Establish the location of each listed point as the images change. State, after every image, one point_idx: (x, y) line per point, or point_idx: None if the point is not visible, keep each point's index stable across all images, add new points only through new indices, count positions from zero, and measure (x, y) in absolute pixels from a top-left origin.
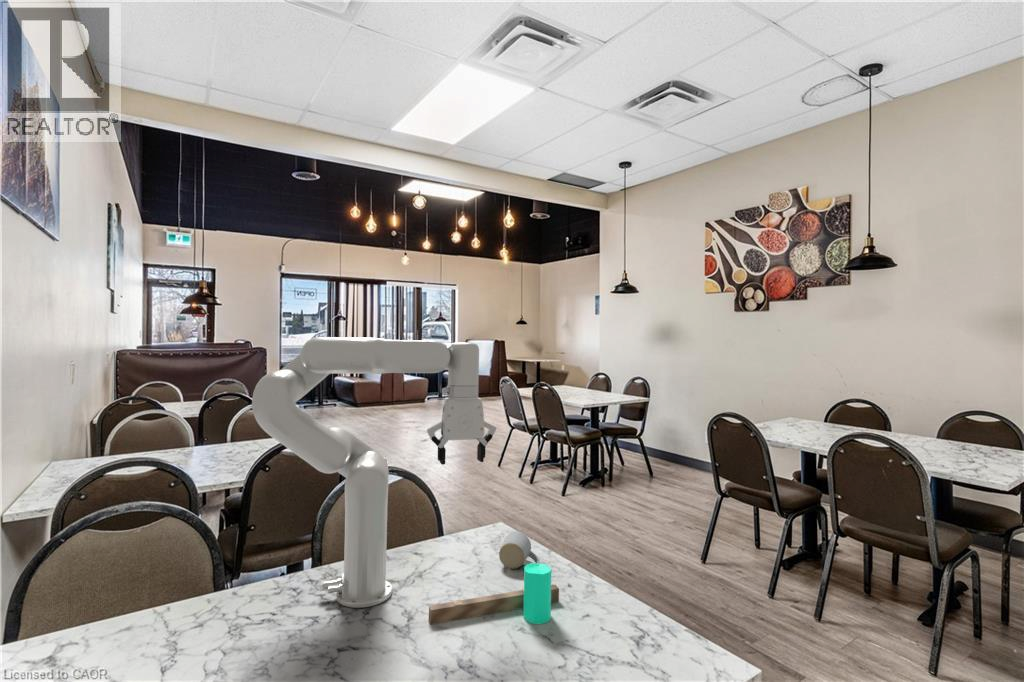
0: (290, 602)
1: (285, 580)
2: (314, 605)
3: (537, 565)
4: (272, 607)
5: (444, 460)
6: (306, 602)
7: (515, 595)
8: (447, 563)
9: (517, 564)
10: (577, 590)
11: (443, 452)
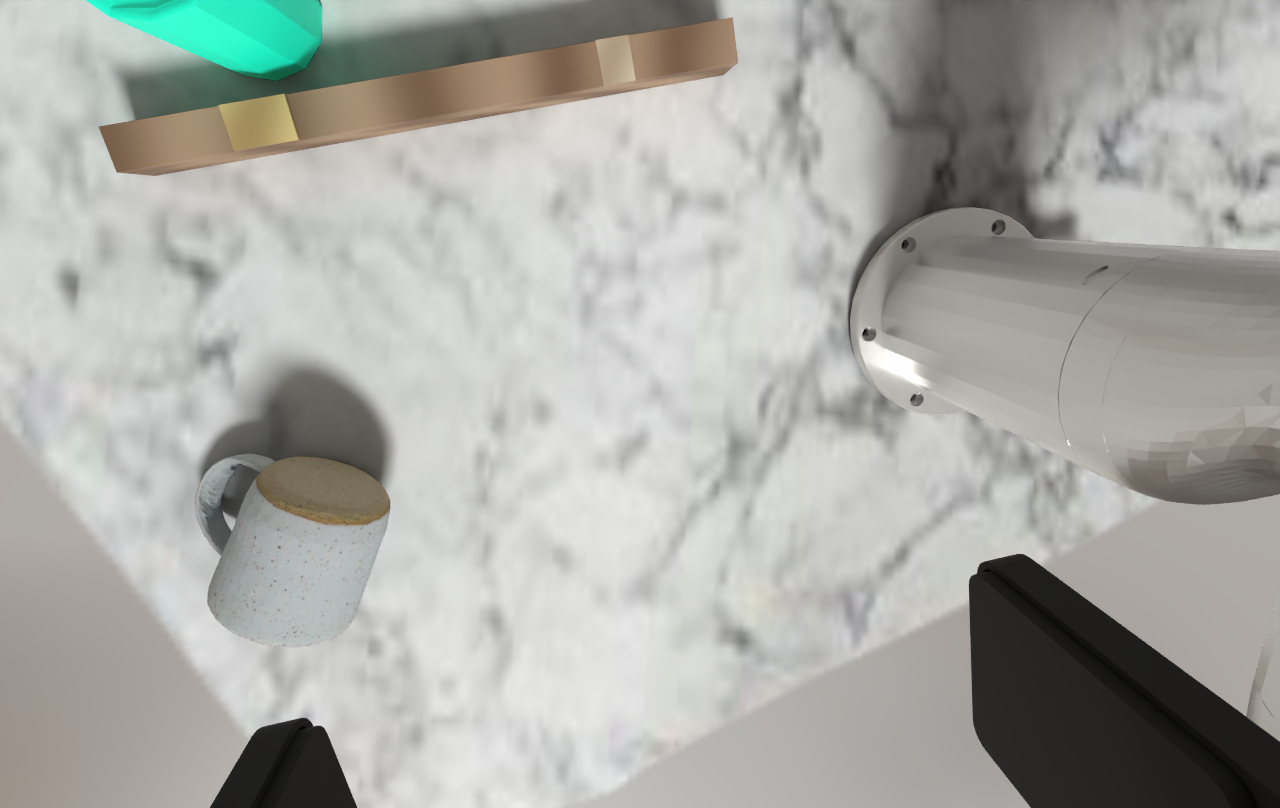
0: None
1: None
2: None
3: (129, 6)
4: None
5: (1031, 592)
6: None
7: (336, 89)
8: (622, 544)
9: (308, 459)
10: (32, 229)
11: (1200, 694)
